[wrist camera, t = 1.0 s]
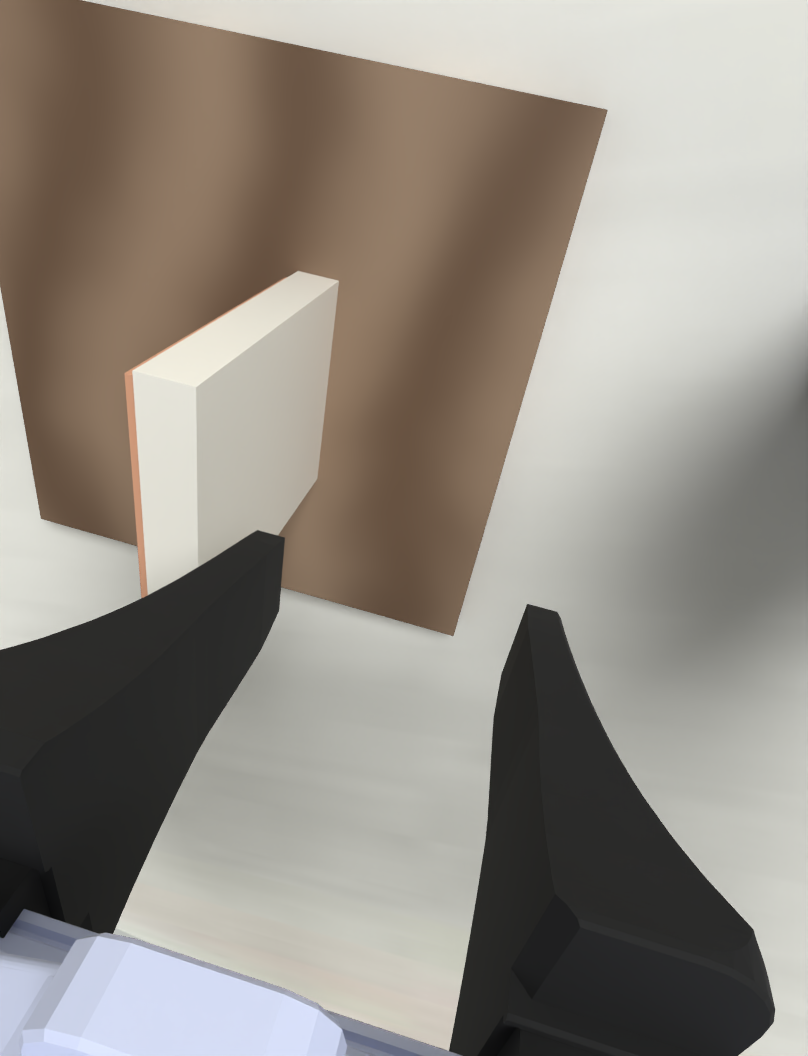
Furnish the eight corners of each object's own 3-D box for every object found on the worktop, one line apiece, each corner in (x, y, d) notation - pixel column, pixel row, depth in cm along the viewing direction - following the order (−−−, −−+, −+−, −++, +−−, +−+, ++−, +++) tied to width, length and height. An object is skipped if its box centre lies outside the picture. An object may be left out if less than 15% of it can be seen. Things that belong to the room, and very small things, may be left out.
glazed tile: (339, 280, 20) (196, 387, 12) (317, 478, 24) (199, 648, 16) (288, 268, 20) (117, 366, 13) (275, 467, 24) (138, 631, 17)
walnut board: (606, 109, 17) (607, 109, 16) (457, 619, 27) (453, 636, 26) (-27, -23, 19) (-55, -28, 18) (56, 506, 29) (41, 518, 28)
